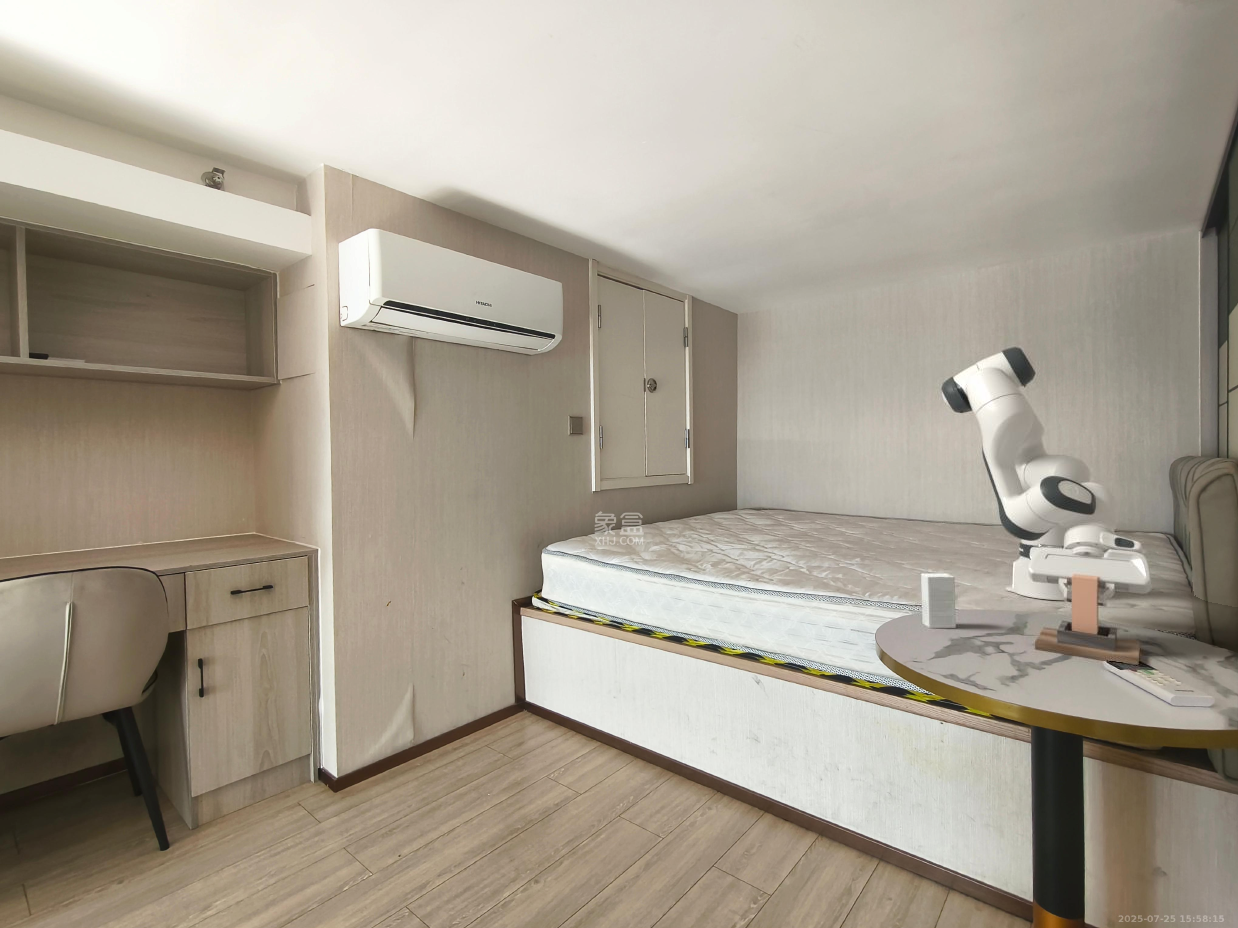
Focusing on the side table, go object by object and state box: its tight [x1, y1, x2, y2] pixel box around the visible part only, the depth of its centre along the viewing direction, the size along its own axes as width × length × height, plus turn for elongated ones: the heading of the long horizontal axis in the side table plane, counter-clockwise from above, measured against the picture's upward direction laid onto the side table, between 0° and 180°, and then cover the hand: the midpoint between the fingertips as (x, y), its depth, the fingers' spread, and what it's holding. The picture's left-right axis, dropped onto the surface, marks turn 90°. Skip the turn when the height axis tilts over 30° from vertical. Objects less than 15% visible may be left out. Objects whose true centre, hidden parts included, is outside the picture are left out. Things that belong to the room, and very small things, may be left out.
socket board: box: [1034, 620, 1141, 666], centre depth 122 cm, size 13×16×4 cm
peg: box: [1071, 574, 1099, 634], centre depth 122 cm, size 4×4×11 cm
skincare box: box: [920, 572, 957, 629], centre depth 140 cm, size 6×4×12 cm
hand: (1084, 602), depth 122 cm, fingers closed on peg, 4 cm apart
